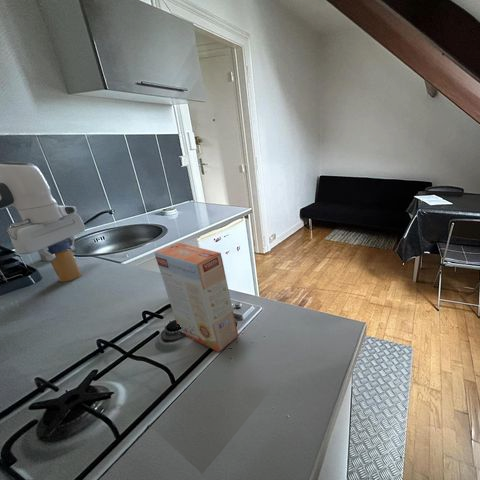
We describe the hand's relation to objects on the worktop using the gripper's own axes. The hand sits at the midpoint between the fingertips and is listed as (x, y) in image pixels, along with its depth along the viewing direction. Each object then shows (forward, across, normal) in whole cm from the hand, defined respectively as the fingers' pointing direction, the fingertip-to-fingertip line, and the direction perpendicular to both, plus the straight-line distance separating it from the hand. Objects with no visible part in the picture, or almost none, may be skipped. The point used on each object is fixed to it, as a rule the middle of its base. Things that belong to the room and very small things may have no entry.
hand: (62, 254), depth 86 cm
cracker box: (+10, -31, -60) cm, 68 cm away
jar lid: (-3, 0, 0) cm, 3 cm away
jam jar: (+9, 0, +1) cm, 9 cm away
